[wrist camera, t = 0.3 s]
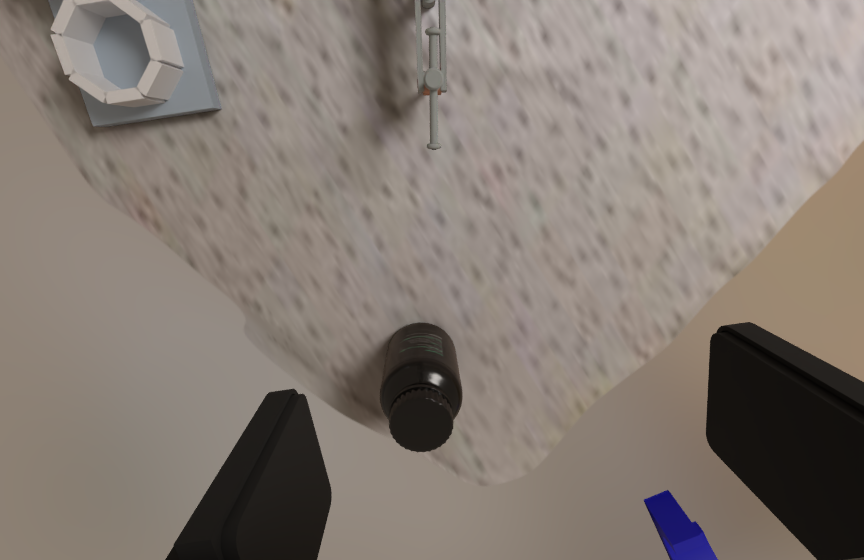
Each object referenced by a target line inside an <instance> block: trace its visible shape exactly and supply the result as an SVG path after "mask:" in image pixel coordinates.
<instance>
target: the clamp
mask: <svg viewBox="0 0 864 560" xmlns="http://www.w3.org/2000/svg"><path fill="white" fill-rule="evenodd" d="M434 5H435V0H422V6H423V7H425V8H431V7H433V6H434ZM415 23H416V49H417V76H418V79H417V87H418V93H423V95H430V144H427V148H428V149H432V150H436V149H439V148H441V144H439V143H438V95H441V92H446V91H447V79H446V12H445V0H439V29H438V28H436V27H430V28H428V29H426V31H425V33H426V35H429V69H428V70H427V71H423V63H422V33H421V3H420V0H415ZM437 35H439V46H440V70H439V69H437Z"/></svg>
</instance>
